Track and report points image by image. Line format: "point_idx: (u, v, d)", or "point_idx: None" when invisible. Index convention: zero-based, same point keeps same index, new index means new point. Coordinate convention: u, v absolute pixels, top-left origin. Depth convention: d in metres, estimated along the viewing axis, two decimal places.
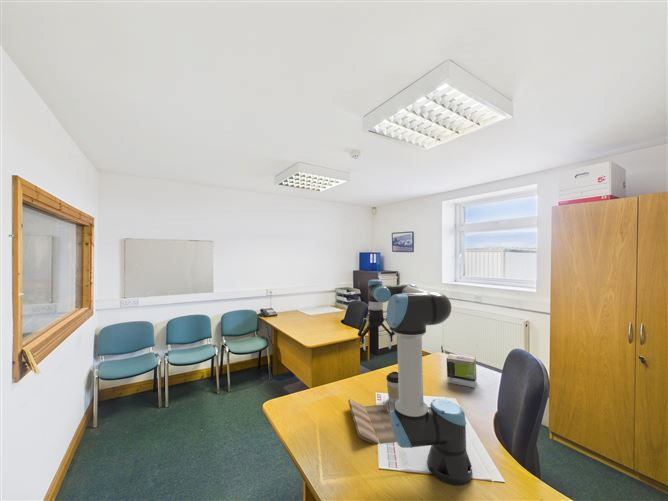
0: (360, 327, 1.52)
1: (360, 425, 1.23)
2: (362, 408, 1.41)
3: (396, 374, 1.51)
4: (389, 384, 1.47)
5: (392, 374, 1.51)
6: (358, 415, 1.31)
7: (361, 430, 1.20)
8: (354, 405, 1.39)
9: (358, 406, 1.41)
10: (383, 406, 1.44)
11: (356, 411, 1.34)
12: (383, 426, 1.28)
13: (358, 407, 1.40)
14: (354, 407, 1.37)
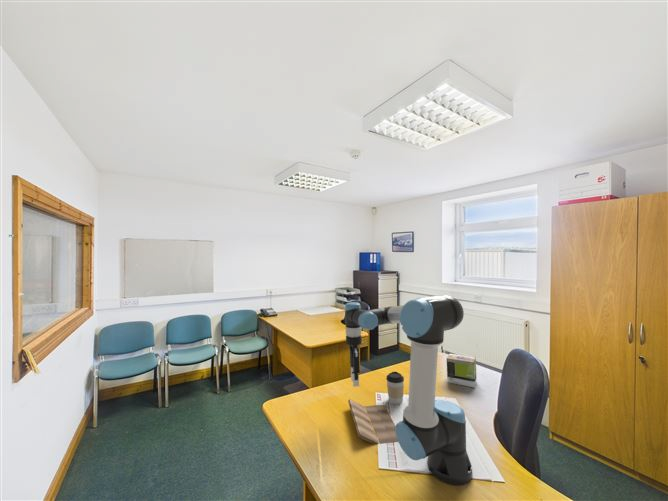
0: None
1: (360, 425, 1.23)
2: (362, 408, 1.41)
3: (396, 374, 1.51)
4: (389, 384, 1.47)
5: (392, 374, 1.51)
6: (358, 415, 1.31)
7: (361, 430, 1.20)
8: (354, 405, 1.39)
9: (358, 406, 1.41)
10: (383, 406, 1.44)
11: (356, 411, 1.34)
12: (383, 426, 1.28)
13: (358, 407, 1.40)
14: (354, 407, 1.37)
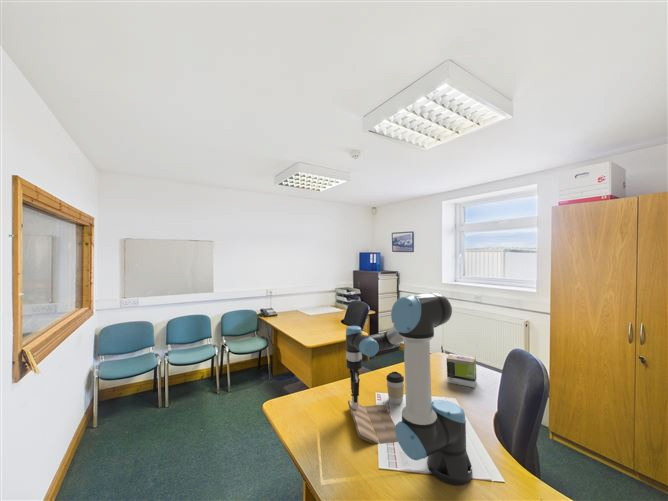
0: None
1: (360, 425, 1.23)
2: (362, 408, 1.41)
3: (396, 374, 1.51)
4: (389, 384, 1.47)
5: (392, 374, 1.51)
6: (358, 416, 1.31)
7: (361, 430, 1.20)
8: None
9: (358, 407, 1.41)
10: (383, 406, 1.44)
11: (355, 412, 1.34)
12: (383, 426, 1.28)
13: (358, 408, 1.40)
14: None
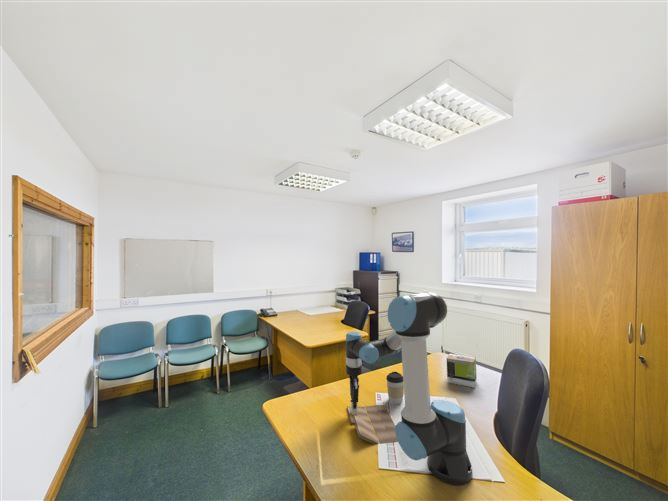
0: None
1: (360, 425, 1.23)
2: (362, 410, 1.41)
3: (396, 374, 1.51)
4: (389, 384, 1.47)
5: (392, 374, 1.51)
6: None
7: (361, 430, 1.20)
8: None
9: (357, 410, 1.41)
10: (383, 406, 1.44)
11: None
12: (383, 426, 1.28)
13: (357, 411, 1.40)
14: None
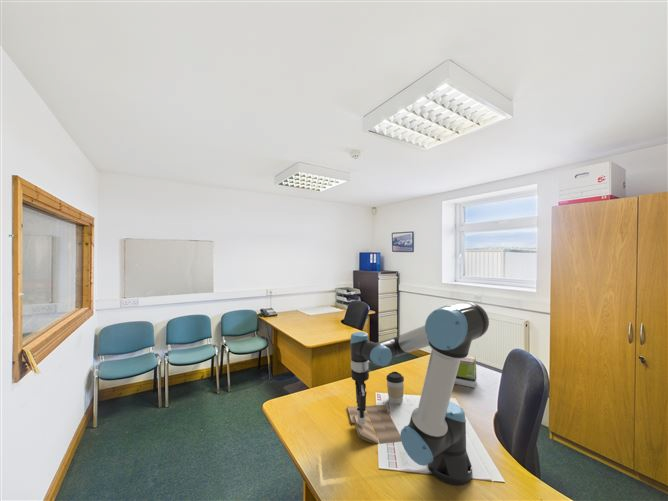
0: None
1: (360, 425, 1.23)
2: None
3: (396, 374, 1.51)
4: (389, 384, 1.47)
5: (392, 374, 1.51)
6: None
7: (361, 430, 1.20)
8: (352, 411, 1.39)
9: None
10: (383, 406, 1.44)
11: None
12: (383, 426, 1.28)
13: (357, 411, 1.40)
14: (352, 413, 1.37)
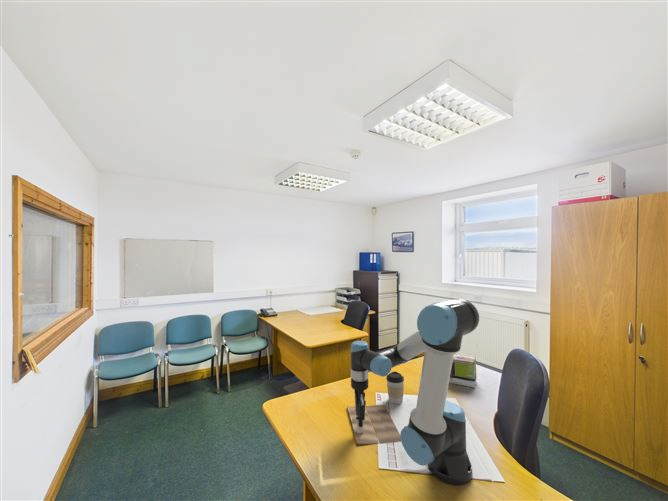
0: None
1: None
2: None
3: (396, 374, 1.51)
4: (389, 384, 1.47)
5: (392, 374, 1.51)
6: (356, 421, 1.31)
7: (359, 437, 1.20)
8: (352, 411, 1.39)
9: None
10: (383, 406, 1.44)
11: (354, 417, 1.34)
12: (383, 426, 1.28)
13: None
14: (352, 413, 1.37)
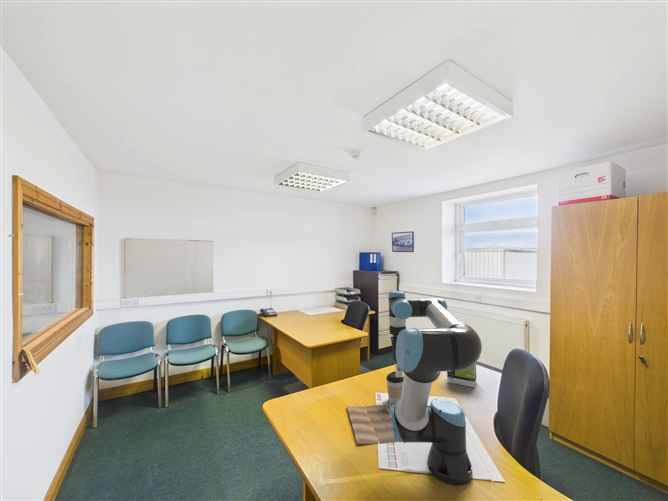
0: None
1: (358, 432, 1.23)
2: (362, 410, 1.41)
3: None
4: (389, 384, 1.47)
5: (392, 374, 1.51)
6: (356, 421, 1.31)
7: (359, 437, 1.20)
8: (352, 411, 1.39)
9: (357, 410, 1.41)
10: (383, 406, 1.44)
11: (354, 417, 1.34)
12: (383, 426, 1.28)
13: (357, 411, 1.40)
14: (352, 413, 1.37)
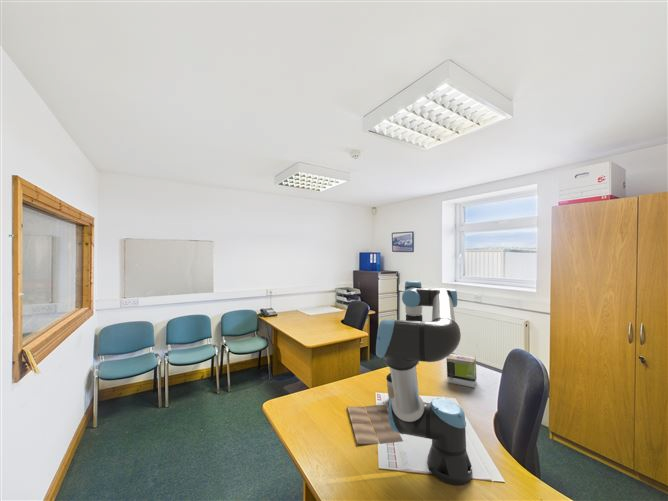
0: None
1: (358, 432, 1.23)
2: (362, 410, 1.41)
3: None
4: (389, 384, 1.47)
5: None
6: (356, 421, 1.31)
7: (359, 437, 1.20)
8: (352, 411, 1.39)
9: (357, 410, 1.41)
10: (383, 406, 1.44)
11: (354, 417, 1.34)
12: (383, 426, 1.28)
13: (357, 411, 1.40)
14: (352, 413, 1.37)
